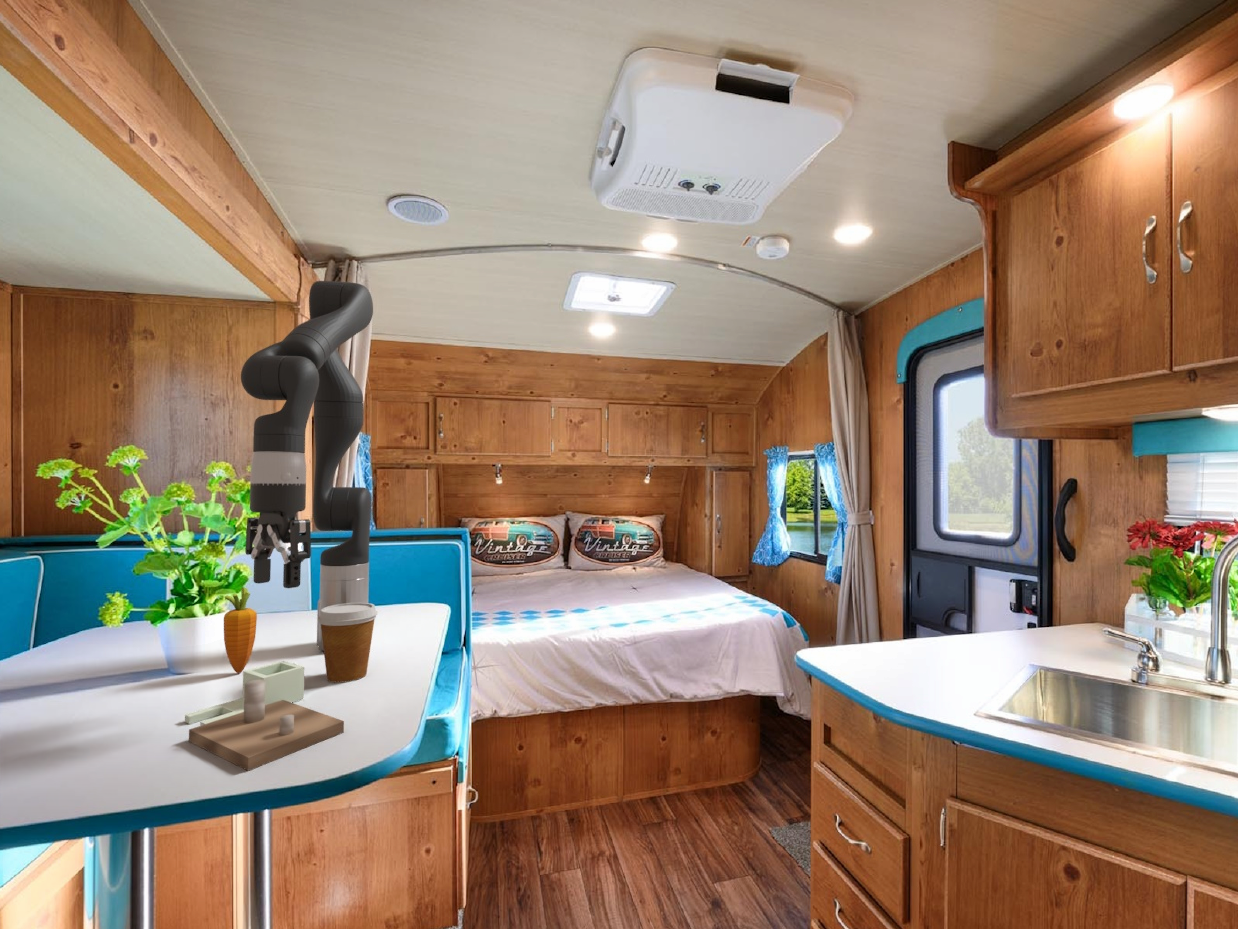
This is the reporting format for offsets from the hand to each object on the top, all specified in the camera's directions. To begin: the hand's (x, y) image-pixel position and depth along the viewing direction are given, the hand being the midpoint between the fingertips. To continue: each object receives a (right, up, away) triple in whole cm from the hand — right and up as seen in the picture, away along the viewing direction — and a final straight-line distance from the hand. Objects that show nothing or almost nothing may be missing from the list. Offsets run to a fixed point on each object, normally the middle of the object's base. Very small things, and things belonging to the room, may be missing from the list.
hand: (276, 585), depth 88 cm
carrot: (-14, -19, +12) cm, 27 cm away
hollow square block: (-2, -18, -4) cm, 18 cm away
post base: (+7, -18, -13) cm, 23 cm away
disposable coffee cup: (+6, -19, +11) cm, 22 cm away
